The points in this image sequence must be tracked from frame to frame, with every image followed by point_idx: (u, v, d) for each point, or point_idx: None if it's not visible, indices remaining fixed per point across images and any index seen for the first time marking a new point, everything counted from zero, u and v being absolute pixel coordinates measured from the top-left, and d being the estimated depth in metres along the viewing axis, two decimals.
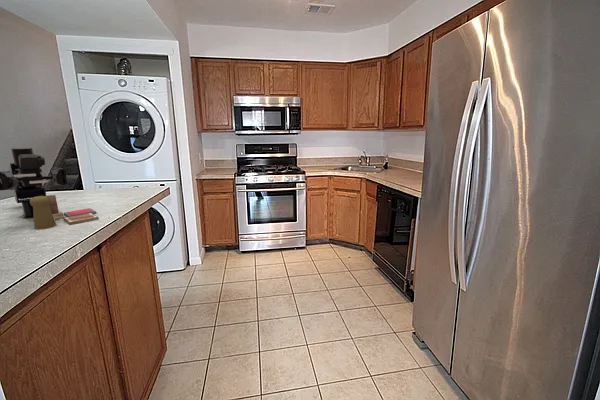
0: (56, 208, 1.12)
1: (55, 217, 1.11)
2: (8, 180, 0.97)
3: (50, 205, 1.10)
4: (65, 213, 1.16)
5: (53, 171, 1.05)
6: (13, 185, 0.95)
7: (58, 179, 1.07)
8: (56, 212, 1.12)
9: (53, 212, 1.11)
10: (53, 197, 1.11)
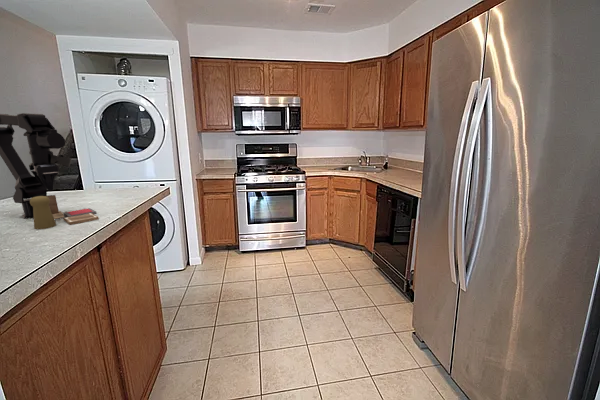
0: (56, 208, 1.12)
1: (55, 217, 1.11)
2: None
3: (50, 205, 1.10)
4: (65, 213, 1.16)
5: None
6: (45, 183, 1.05)
7: None
8: (56, 212, 1.12)
9: (53, 212, 1.11)
10: (53, 197, 1.11)
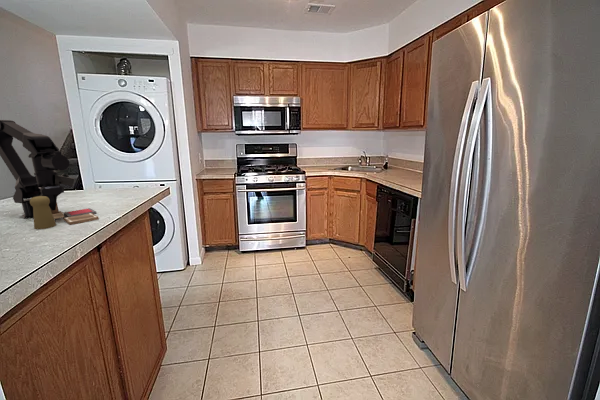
0: (56, 208, 1.12)
1: (55, 217, 1.11)
2: (51, 194, 1.09)
3: None
4: (65, 213, 1.16)
5: None
6: (49, 203, 1.09)
7: None
8: (56, 212, 1.12)
9: (53, 212, 1.11)
10: None
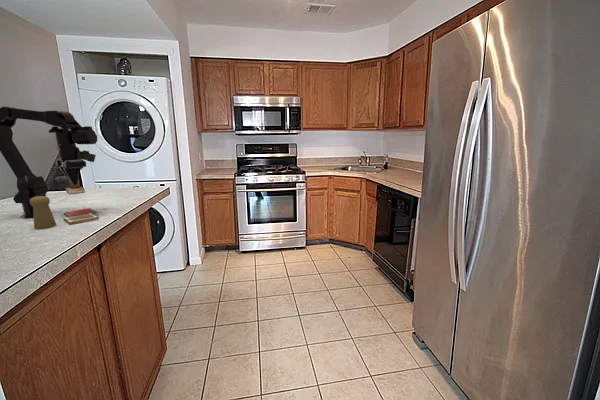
0: (77, 183, 1.15)
1: (77, 191, 1.14)
2: (74, 168, 1.12)
3: None
4: (65, 213, 1.16)
5: None
6: (71, 177, 1.12)
7: None
8: (77, 187, 1.15)
9: (75, 186, 1.14)
10: None
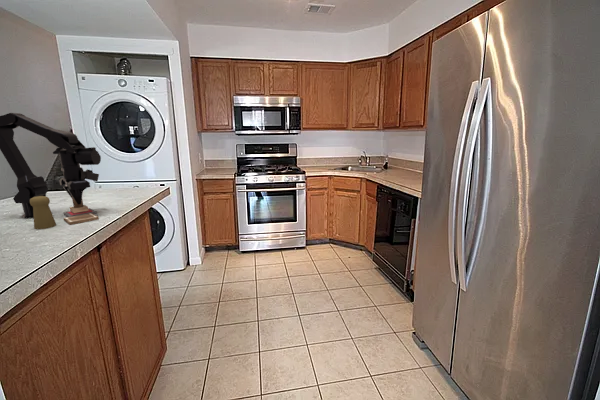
0: (81, 202, 1.17)
1: (80, 210, 1.16)
2: (78, 188, 1.13)
3: None
4: (65, 213, 1.16)
5: None
6: (75, 197, 1.14)
7: None
8: (81, 205, 1.17)
9: (78, 205, 1.16)
10: None
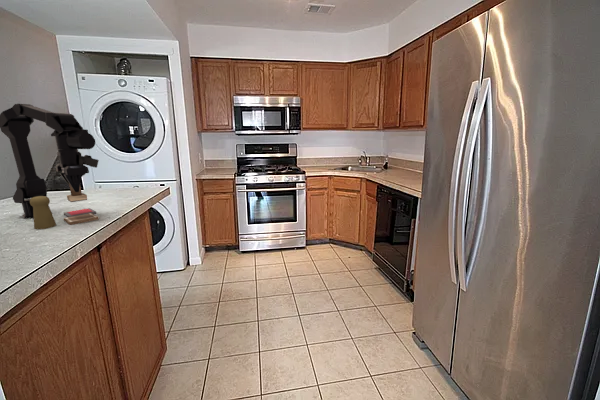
0: (79, 189, 1.07)
1: (78, 199, 1.06)
2: (75, 175, 1.04)
3: None
4: (65, 213, 1.16)
5: None
6: (72, 184, 1.04)
7: None
8: (79, 193, 1.07)
9: (76, 193, 1.06)
10: None
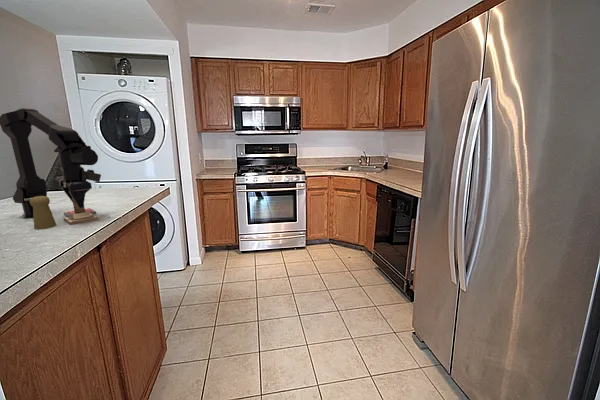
0: (83, 207, 1.09)
1: (82, 216, 1.08)
2: None
3: None
4: (65, 213, 1.16)
5: None
6: (77, 200, 1.04)
7: None
8: (83, 211, 1.09)
9: (80, 211, 1.08)
10: None
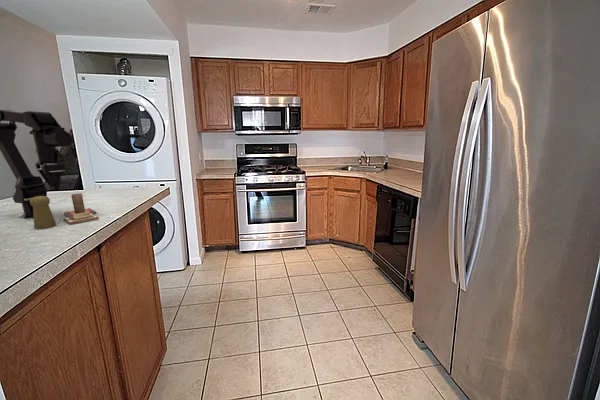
0: (83, 207, 1.09)
1: (82, 216, 1.08)
2: (55, 172, 1.05)
3: (77, 204, 1.07)
4: (65, 213, 1.16)
5: None
6: (52, 182, 1.05)
7: None
8: (83, 211, 1.09)
9: (80, 211, 1.08)
10: (80, 196, 1.07)
